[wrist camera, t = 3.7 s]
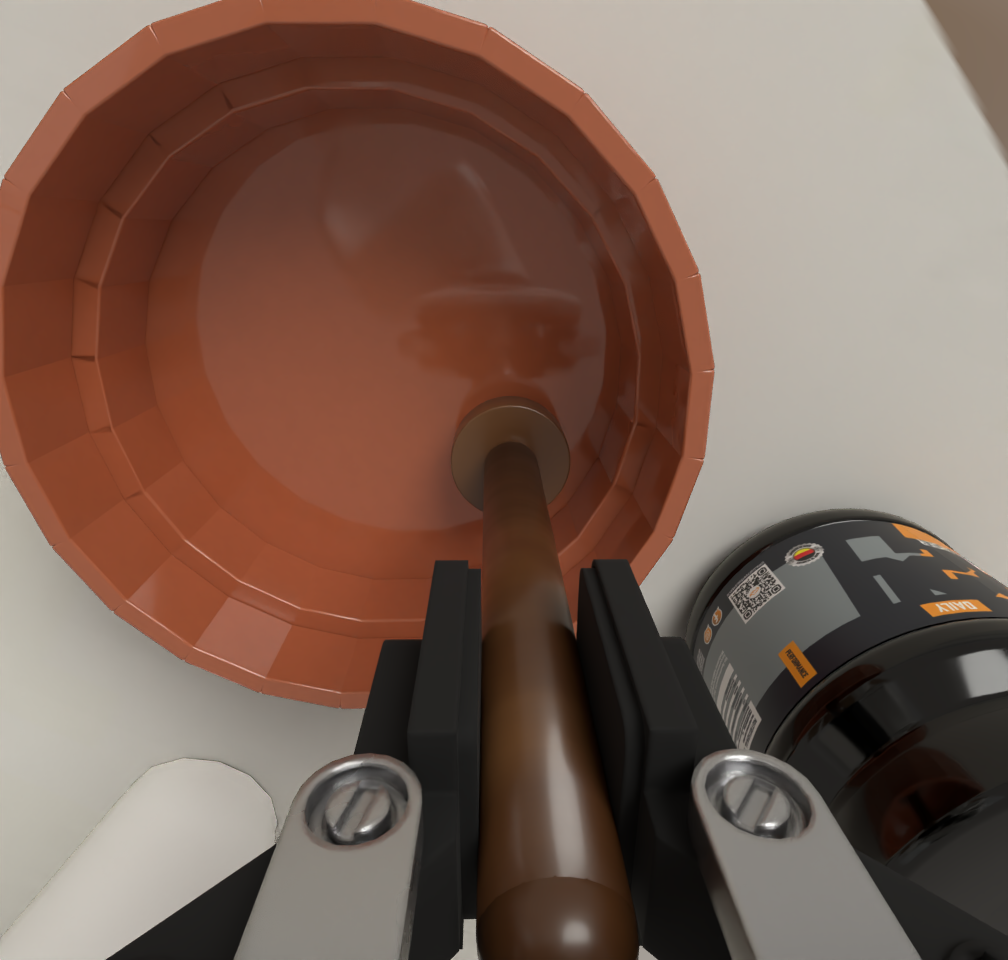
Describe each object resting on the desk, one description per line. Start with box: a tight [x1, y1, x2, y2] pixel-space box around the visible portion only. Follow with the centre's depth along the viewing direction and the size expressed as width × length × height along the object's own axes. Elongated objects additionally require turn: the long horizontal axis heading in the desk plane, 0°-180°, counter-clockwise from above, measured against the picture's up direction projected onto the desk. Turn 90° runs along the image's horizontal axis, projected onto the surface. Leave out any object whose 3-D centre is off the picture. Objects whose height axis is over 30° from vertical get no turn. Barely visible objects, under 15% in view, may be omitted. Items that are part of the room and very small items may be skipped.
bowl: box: [0, 0, 715, 709], centre depth 18 cm, size 17×17×6 cm
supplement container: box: [685, 508, 1008, 936], centre depth 19 cm, size 10×10×12 cm
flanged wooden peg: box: [451, 396, 639, 960], centre depth 13 cm, size 4×4×16 cm
